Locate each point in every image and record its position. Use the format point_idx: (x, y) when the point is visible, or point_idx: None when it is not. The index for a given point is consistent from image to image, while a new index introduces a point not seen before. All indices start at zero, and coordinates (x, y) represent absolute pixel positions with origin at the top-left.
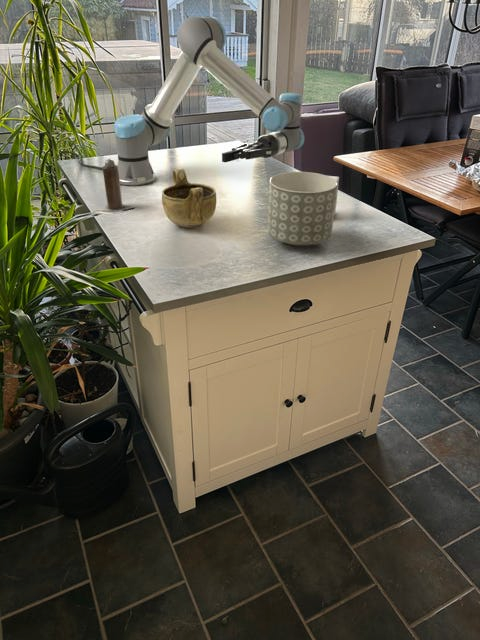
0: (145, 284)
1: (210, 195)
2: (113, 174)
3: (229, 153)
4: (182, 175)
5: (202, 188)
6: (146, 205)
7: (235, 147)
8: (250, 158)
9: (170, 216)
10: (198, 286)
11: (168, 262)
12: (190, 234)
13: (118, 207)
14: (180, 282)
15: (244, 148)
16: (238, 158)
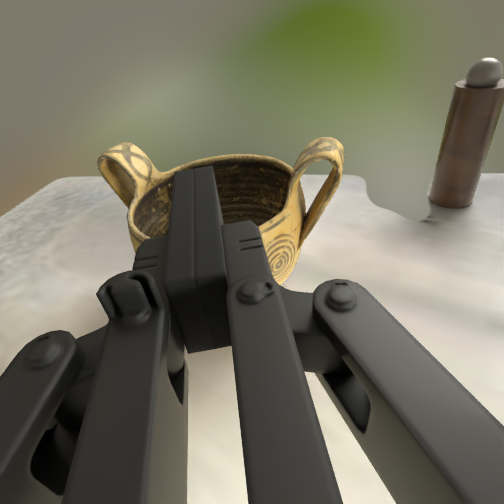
0: (101, 177)
1: (127, 215)
2: (451, 104)
3: (173, 198)
4: (297, 165)
5: (102, 156)
6: (445, 245)
7: (364, 336)
8: (44, 449)
9: (221, 206)
10: (29, 209)
11: (120, 203)
12: None
13: (431, 196)
14: (61, 199)
15: (246, 474)
16: (187, 341)
